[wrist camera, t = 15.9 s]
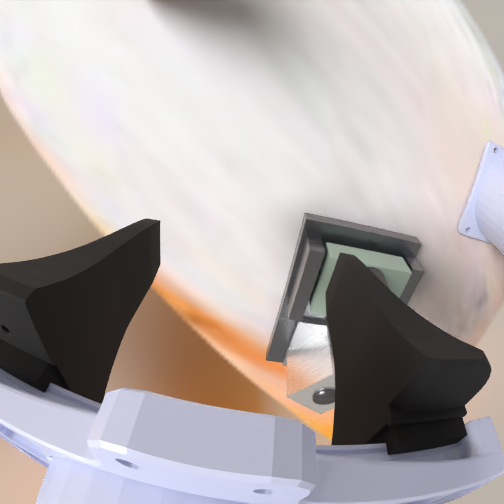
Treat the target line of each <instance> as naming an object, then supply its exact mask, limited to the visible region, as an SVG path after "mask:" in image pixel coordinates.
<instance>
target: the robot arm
mask: <svg viewBox="0 0 504 504" xmlns="http://www.w3.org/2000/svg"><path fill="white" fill-rule="evenodd" d="M494 148H495V152H494ZM467 228H468V229H467ZM466 229H467V230H466ZM457 230H458V232H459V233H461V234H463V235H466V236H469V237H473V238H476V239H479V240H482V241H485V242H488V243H491V244H493V245H494V246H495V247H496V248H497V249H498V250H499V251H500V252H501V253H502V254H503V255H504V149H503V148H502V147H500V146H499V145H497V144H495V143H493V142H491V141H488V142H487V143H486V145H485V148H484V152H483V155H482V159H481V162H480V166H479V169H478V172H477V175H476V178H475V181H474V184H473V187H472V190H471V193H470V196H469V198H468V201H467V204H466V206H465V209H464V212H463V214H462V217H461V219H460V222H459V224H458V227H457ZM159 266H160V221H158V220H152V219H143V220H140V221H138V222H136V223H133V224H131V225H129V226H127V227H125V228H122V229H120V230H118V231H116V232H114V233H112V234H110V235H107V236H105V237H103V238H100V239H98V240H96V241H93V242H91V243H89V244H87V245H84V246H81V247H78V248H75V249H73V250H69V251H66V252H63V253H59V254H55V255H52V256H47V257H43V258H39V259H34V260H28V261H21V262H13V263H1V264H0V437H2V438H3V439H5V440H6V441H7V442H9V443H10V444H11V445H13V446H14V447H16V448H17V449H18V450H20V451H21V452H23V453H24V454H26V455H28V456H29V457H31V458H32V459H34V460H35V461H37V462H39V463H40V464H42V465H44V466H45V467H47V468H48V470H47V473H46V475H45V477H44V480H43V483H42V486H41V489H40V491H39V494H38V497H37V500H36V503H35V504H443V503H446V502H449V501H451V500H455V499H457V498H460V497H462V496H464V495H466V494H468V493H470V492H472V491H474V490H476V489H478V488H479V487H481V486H483V485H485V484H487V483H488V482H490V481H492V480H493V479H495V478H497V477H499V476H500V475H502V474H503V473H504V457H503V453H502V450H501V446H500V443H499V439H498V436H497V433H496V430H495V427H494V424H493V421H492V418H491V417H485V418H481V419H476V420H473V421H470V422H468V423H466V424H464V422H463V418H462V417H464V416H465V415H466V414H467V411H466V408H465V404H467V403H468V402H469V401H470V400H471V399H472V398H473V397H474V396H475V394H477V392H479V390H481V388H482V387H483V386H484V385H485V384H486V382H487V380H488V379H489V377H490V373H491V366H490V364H489V362H488V359H487V357H486V355H485V354H484V352H483V351H482V350H480V349H478V348H476V347H474V346H471V345H469V344H467V343H465V342H463V341H461V340H459V339H457V338H455V337H453V336H451V335H450V334H448V333H446V332H444V331H443V330H441V329H439V328H438V327H436V326H435V325H433V324H432V323H430V322H429V321H427V320H426V319H424V318H423V317H422V316H420V315H419V314H418V313H416V312H415V311H414V310H413V309H411V308H410V307H409V306H408V305H406V304H405V303H404V302H403V301H402V300H401V299H399V298H398V297H397V296H396V295H395V294H394V293H393V292H392V291H391V290H390V289H389V288H388V287H387V286H386V285H385V284H384V283H383V282H382V281H381V280H380V279H379V278H378V277H377V276H376V275H375V274H374V273H373V272H372V271H371V270H370V269H369V268H368V267H367V266H366V265H365V264H364V263H363V262H362V261H361V260H360V259H358V258H357V257H356V256H355V255H352V254H346V253H341V252H340V254H339V256H338V259H337V262H336V265H335V268H334V271H333V273H332V276H331V279H330V282H329V284H328V287H327V290H326V292H325V296H326V316H327V322H328V328H329V334H330V340H331V346H332V352H333V358H334V367H335V410H334V425H333V436H332V445H316V438H315V432H314V431H313V430H311V429H310V428H308V427H307V426H305V425H304V424H302V423H301V422H299V421H298V420H293V419H289V418H284V417H280V416H275V415H268V414H259V413H252V412H245V411H238V410H232V409H226V408H220V407H215V406H209V405H204V404H199V403H195V402H190V401H185V400H181V399H177V398H173V397H168V396H164V395H161V394H156V393H153V392H149V391H144V390H137V389H131V388H121V389H118V390H114V391H111V392H107V394H106V396H105V398H104V395H105V390H106V387H107V383H108V380H109V376H110V373H111V369H112V366H113V363H114V360H115V358H116V355H117V352H118V349H119V346H120V343H121V341H122V339H123V336H124V334H125V331H126V329H127V327H128V325H129V323H130V321H131V319H132V318H133V316H134V314H135V312H136V311H137V309H138V307H139V305H140V304H141V302H142V300H143V298H144V297H145V295H146V293H147V291H148V290H149V288H150V286H151V285H152V283H153V280H154V278H155V276H156V273H157V271H158V268H159ZM103 399H104V400H103Z"/></svg>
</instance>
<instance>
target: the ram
mask: <svg viewBox="0 0 504 504" xmlns="http://www.w3.org/2000/svg"><path fill="white" fill-rule="evenodd" d="M324 250H325V254H324V257H323V261H322V264H321V267H320V270H319V273H318V276H317V279H316V282H315V285H314V288H313V290H312V293H311V296H310V299H309V304H310V314H313V315H320V316H326V296H325V292H326V290H327V287H328V284H329V282H330V279H331V276H332V273H333V271H334V268H335V265H336V262H337V259H338V256H339V254H340V252H341V253H346V254H352V255H355V256H356V257H357V258H358V259H360V260H361V261H362V262H363V263H364V264H365V265H366V266H367V267H368V268H369V269H370V270H371V271H372V272H373V273H374V274H375V275H376V276H377V277H378V278H379V279H380V280H381V281H382V282H383V283H384V284H385V285H386V286H387V287H388V288H389V289H390V290H391V291H392V292H393V293H394V294H395V295H396V296H397V297H398V298H400V296H401V294H402V292H403V290H404V288H405V286H406V284H407V282H408V280H409V278H410V276H411V274H412V272H411V271H410V269H409V267H408V266H407V264H406V262H405V261H404V259H403V257H399V256H394V255H389V254H384V253H379V252H374V251H369V250H364V249H359V248H354V247H349V246H344V245H339V244H333V243H328V242H326V245H325V248H324Z"/></svg>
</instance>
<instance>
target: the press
mask: <svg viewBox="0 0 504 504" xmlns="http://www.w3.org/2000/svg"><path fill="white" fill-rule="evenodd" d="M326 242H328V243H333V244H339V245H344V246H349V247H354V248H359V249H364V250H369V251H374V252H379V253H384V254H389V255H394V256H399V257H403V259H404V261H405V262H406V264H407V266H408V267H409V269H410V271H411V272H412V274H411V276H410V278H409V280H408V282H407V284H406V286H405V288H404V290H403V292H402V294H401V296H400V298H399V299H401V300H402V301H403V302H404V303H405V304H406V305H407V303H408V301H409V299H410V298H411V296H412V294H413V292H414V290H415V288H416V286H417V284H418V282H419V280H420V278H421V276H422V274H423V272H424V270H423V269H422V267H421V266H420V264H419V263H418V261H417V260H416V258H415V256H416V254H417V252H418V249H419V247H420V245H421V243H420V242H419V240H418V239H417V238H416V237H412V236H408V235H404V234H400V233H396V232H392V231H387V230H383V229H379V228H374V227H370V226H365V225H361V224H356V223H352V222H347V221H342V220H338V219H333V218H328V217H323V216H318V215H313V214H308V213H305V214H304V218H303V222H302V226H301V230H300V234H299V238H298V242H297V246H296V250H295V253H294V257H293V261H292V265H291V268H290V272H289V276H288V279H287V283H286V287H285V290H284V294H283V297H282V301H281V304H280V308H279V311H278V315H277V318H276V322H275V325H274V329H273V332H272V335H271V339H270V342H269V345H268V349H267V352H266V360H268V361H275V362H282V365H284V366H287V350H289V349H291V348H292V347H294V346H296V345H297V344H299V343H301V342H302V341H304V340H306V339H307V338H309V337H310V336H312V335H314V334H315V333H317V332H318V331H320V330H322V329H323V328H325V327H326V326H327V327H328V322H327V316H320V315H313V314H310V304H309V299H310V296H311V293H312V290H313V288H314V285H315V282H316V279H317V276H318V273H319V270H320V267H321V264H322V261H323V257H324V254H325V250H324V248H325V245H326Z"/></svg>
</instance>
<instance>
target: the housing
mask: <svg viewBox="0 0 504 504" xmlns="http://www.w3.org/2000/svg"><path fill="white" fill-rule="evenodd" d="M287 397H288V398H290V399H292V400H294V401H296V402H298V403H300V404H301V405H303V406H305V407H307V408H309V409H311V410H313V411H315V412H317V413H319V414H322V413H324V412H326V411H329V410H331V409H333V408H335V367H334V358H333V352H332V346H331V340H330V334H329V328H328V327H327V326H326V327H325V328H323V329H322V330H320V331H318V332H317V333H315V334H314V335H312V336H310V337H309V338H307V339H306V340H304V341H302V342H301V343H299V344H297V345H296V346H294V347H292V348H291V349H289V350H287Z"/></svg>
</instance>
